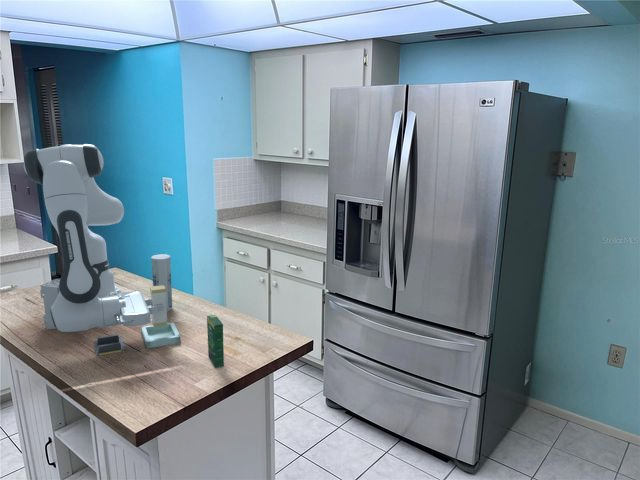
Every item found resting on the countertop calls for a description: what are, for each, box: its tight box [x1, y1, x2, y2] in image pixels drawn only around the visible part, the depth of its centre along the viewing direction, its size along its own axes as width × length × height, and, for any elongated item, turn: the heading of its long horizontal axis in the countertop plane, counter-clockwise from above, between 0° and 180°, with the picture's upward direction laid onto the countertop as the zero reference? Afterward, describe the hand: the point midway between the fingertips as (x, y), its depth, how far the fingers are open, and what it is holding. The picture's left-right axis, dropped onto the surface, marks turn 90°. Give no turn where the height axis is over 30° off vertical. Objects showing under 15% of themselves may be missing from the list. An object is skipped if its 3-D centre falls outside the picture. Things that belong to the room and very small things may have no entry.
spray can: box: [150, 253, 173, 312], centre depth 171 cm, size 6×6×20 cm
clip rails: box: [93, 333, 126, 357], centre depth 142 cm, size 10×8×2 cm
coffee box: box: [206, 314, 225, 369], centre depth 135 cm, size 8×3×13 cm, turn 27°
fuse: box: [149, 285, 168, 327], centre depth 146 cm, size 4×4×12 cm
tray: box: [141, 321, 181, 349], centre depth 149 cm, size 12×10×3 cm
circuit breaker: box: [39, 277, 61, 330], centre depth 154 cm, size 8×14×15 cm, turn 78°
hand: (161, 304), depth 147 cm, fingers closed on fuse, 3 cm apart
